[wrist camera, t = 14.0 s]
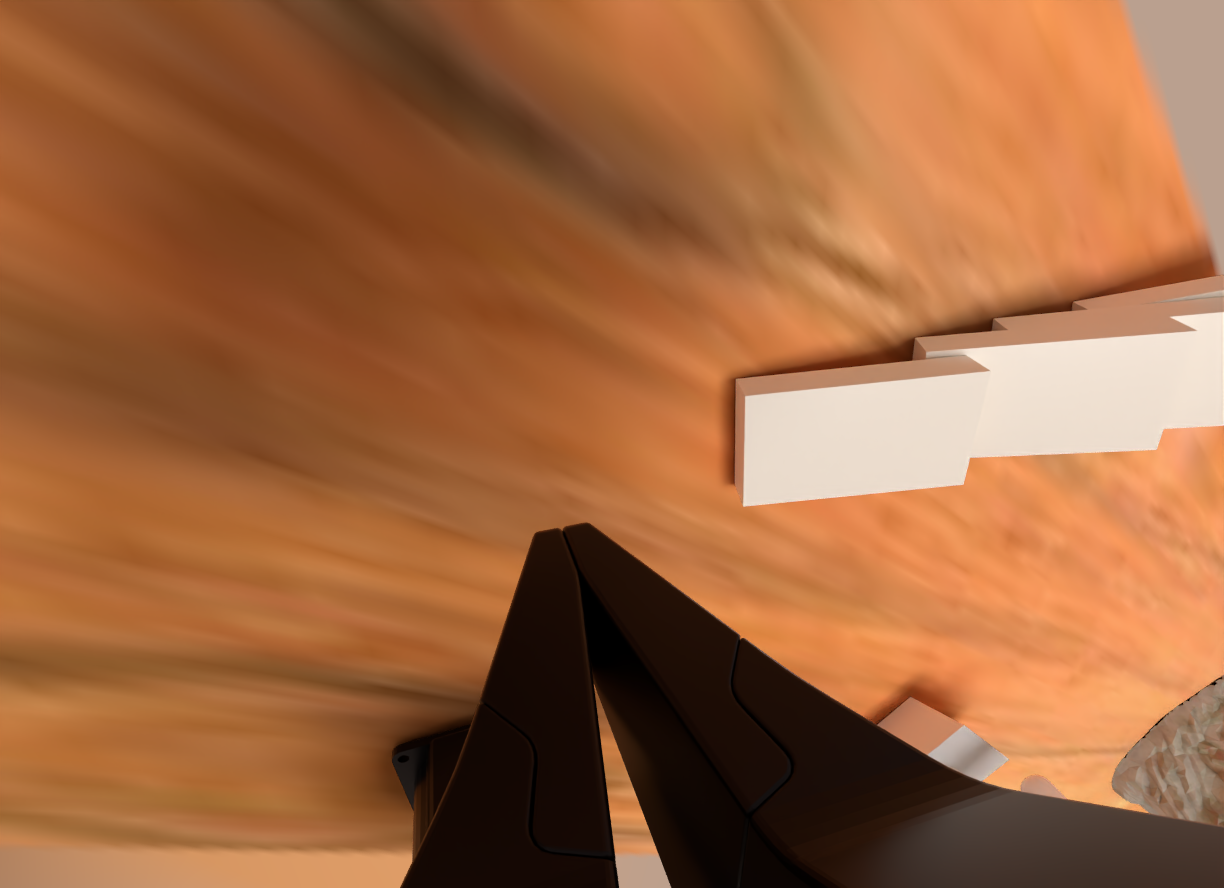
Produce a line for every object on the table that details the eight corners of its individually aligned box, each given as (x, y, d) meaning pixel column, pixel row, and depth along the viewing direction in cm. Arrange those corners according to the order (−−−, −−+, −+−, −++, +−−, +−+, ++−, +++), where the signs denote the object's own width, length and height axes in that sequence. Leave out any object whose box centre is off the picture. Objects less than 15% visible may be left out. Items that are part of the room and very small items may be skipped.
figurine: (976, 699, 40) (1236, 970, 27) (871, 786, 41) (1069, 1079, 28) (931, 662, 36) (1207, 953, 23) (818, 758, 38) (1017, 1080, 25)
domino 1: (734, 484, 26) (942, 464, 25) (743, 506, 24) (963, 484, 24) (735, 378, 23) (966, 355, 23) (745, 396, 22) (990, 371, 22)
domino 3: (1060, 402, 28) (1292, 369, 26) (1079, 418, 27) (1324, 384, 25) (1072, 301, 26) (1327, 256, 24) (1093, 312, 24) (1365, 265, 22)
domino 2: (903, 441, 27) (1132, 430, 25) (914, 460, 25) (1156, 449, 24) (914, 337, 24) (1169, 316, 23) (926, 351, 23) (1197, 330, 21)
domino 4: (976, 421, 28) (1204, 407, 26) (990, 438, 26) (1232, 425, 24) (993, 318, 25) (1246, 294, 23) (1009, 331, 24) (1279, 306, 22)
